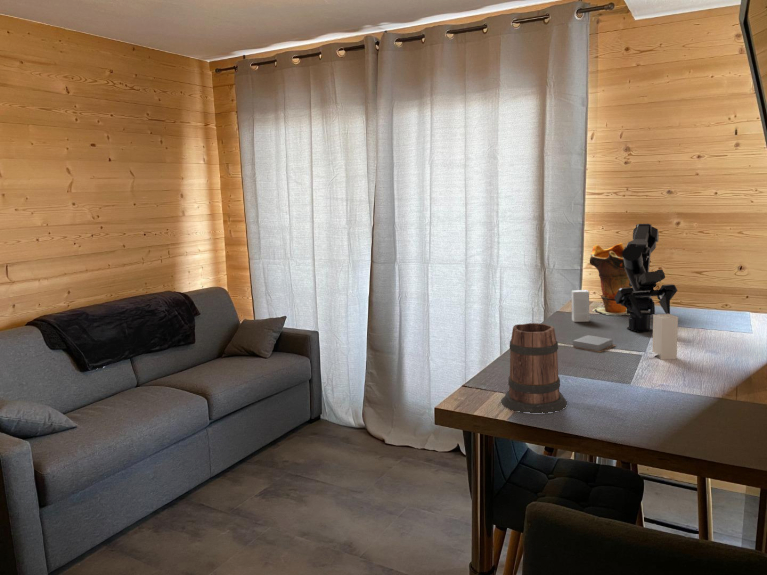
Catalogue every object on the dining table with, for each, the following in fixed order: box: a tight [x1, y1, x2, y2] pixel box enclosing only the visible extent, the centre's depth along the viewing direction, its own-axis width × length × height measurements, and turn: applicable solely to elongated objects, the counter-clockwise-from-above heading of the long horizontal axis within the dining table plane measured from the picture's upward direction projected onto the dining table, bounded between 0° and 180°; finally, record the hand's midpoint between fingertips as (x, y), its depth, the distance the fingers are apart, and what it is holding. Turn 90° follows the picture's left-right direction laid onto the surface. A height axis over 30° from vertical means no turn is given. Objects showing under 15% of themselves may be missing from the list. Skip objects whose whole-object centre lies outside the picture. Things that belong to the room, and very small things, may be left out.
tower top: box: [572, 334, 614, 352], centre depth 200 cm, size 9×9×2 cm
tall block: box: [652, 313, 679, 361], centre depth 187 cm, size 5×5×13 cm
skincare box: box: [571, 289, 590, 323], centre depth 238 cm, size 6×4×12 cm
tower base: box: [573, 343, 617, 353], centre depth 200 cm, size 11×11×2 cm
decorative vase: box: [589, 242, 630, 316], centre depth 250 cm, size 21×23×28 cm
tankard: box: [500, 322, 568, 413], centre depth 158 cm, size 24×17×20 cm
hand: (655, 316), depth 192 cm, fingers open, 9 cm apart
